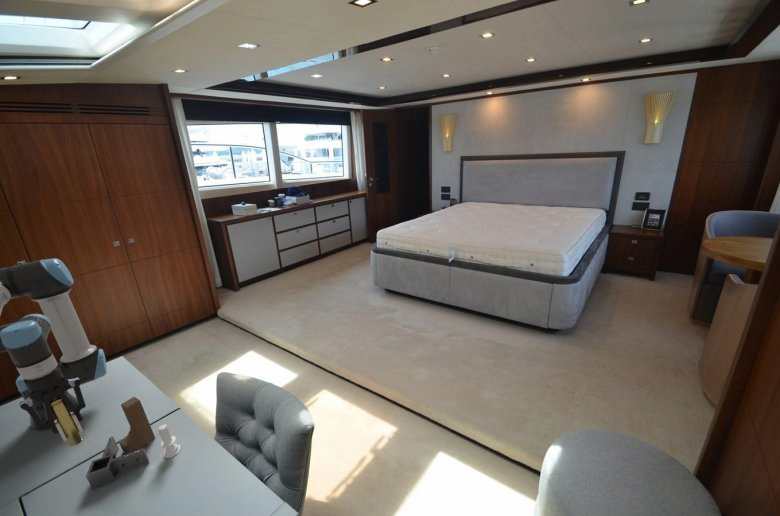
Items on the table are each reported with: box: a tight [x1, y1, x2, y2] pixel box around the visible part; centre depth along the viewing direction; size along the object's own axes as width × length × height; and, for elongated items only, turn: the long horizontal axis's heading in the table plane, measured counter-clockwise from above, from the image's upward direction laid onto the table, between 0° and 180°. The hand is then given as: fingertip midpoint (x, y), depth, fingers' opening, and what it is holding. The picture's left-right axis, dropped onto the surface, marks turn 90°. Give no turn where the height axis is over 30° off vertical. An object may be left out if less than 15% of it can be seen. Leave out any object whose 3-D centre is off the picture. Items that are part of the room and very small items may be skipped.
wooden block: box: [119, 396, 156, 455], centre depth 120 cm, size 9×4×18 cm, turn 148°
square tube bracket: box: [85, 436, 150, 490], centre depth 116 cm, size 15×15×6 cm
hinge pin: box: [50, 397, 84, 447], centre depth 103 cm, size 4×4×17 cm
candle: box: [158, 423, 182, 459], centre depth 117 cm, size 5×5×12 cm
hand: (72, 434), depth 105 cm, fingers closed on hinge pin, 3 cm apart
